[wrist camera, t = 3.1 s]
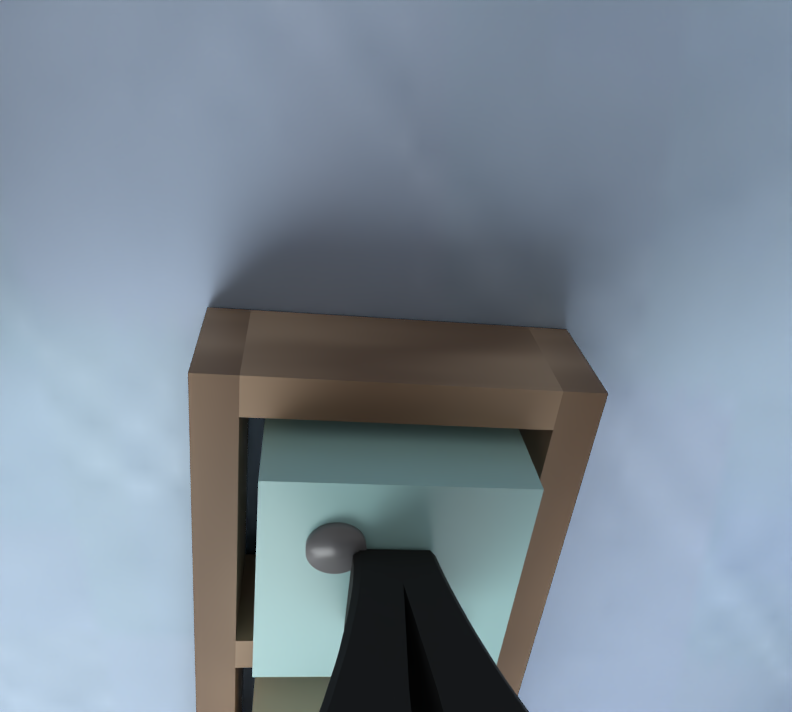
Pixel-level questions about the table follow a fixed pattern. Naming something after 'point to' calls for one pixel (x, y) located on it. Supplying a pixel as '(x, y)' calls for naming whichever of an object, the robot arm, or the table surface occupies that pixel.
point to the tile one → (289, 694)
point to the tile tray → (375, 403)
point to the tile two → (383, 526)
